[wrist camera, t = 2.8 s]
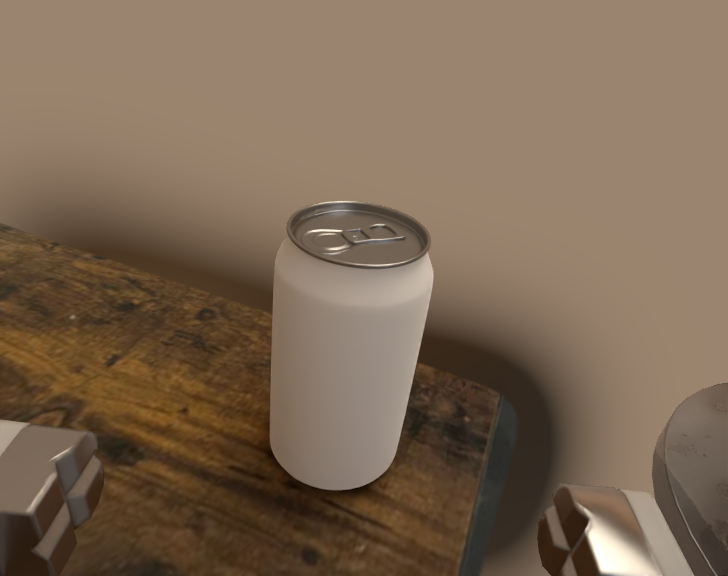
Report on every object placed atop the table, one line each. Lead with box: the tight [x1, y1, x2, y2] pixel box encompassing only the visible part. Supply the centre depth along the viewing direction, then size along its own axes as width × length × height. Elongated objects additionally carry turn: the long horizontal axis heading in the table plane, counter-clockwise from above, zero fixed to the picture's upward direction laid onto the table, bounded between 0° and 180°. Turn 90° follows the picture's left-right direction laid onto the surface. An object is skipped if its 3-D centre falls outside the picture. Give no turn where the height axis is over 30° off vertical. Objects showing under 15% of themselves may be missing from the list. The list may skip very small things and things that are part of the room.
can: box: [270, 201, 433, 490], centre depth 23 cm, size 6×6×12 cm
